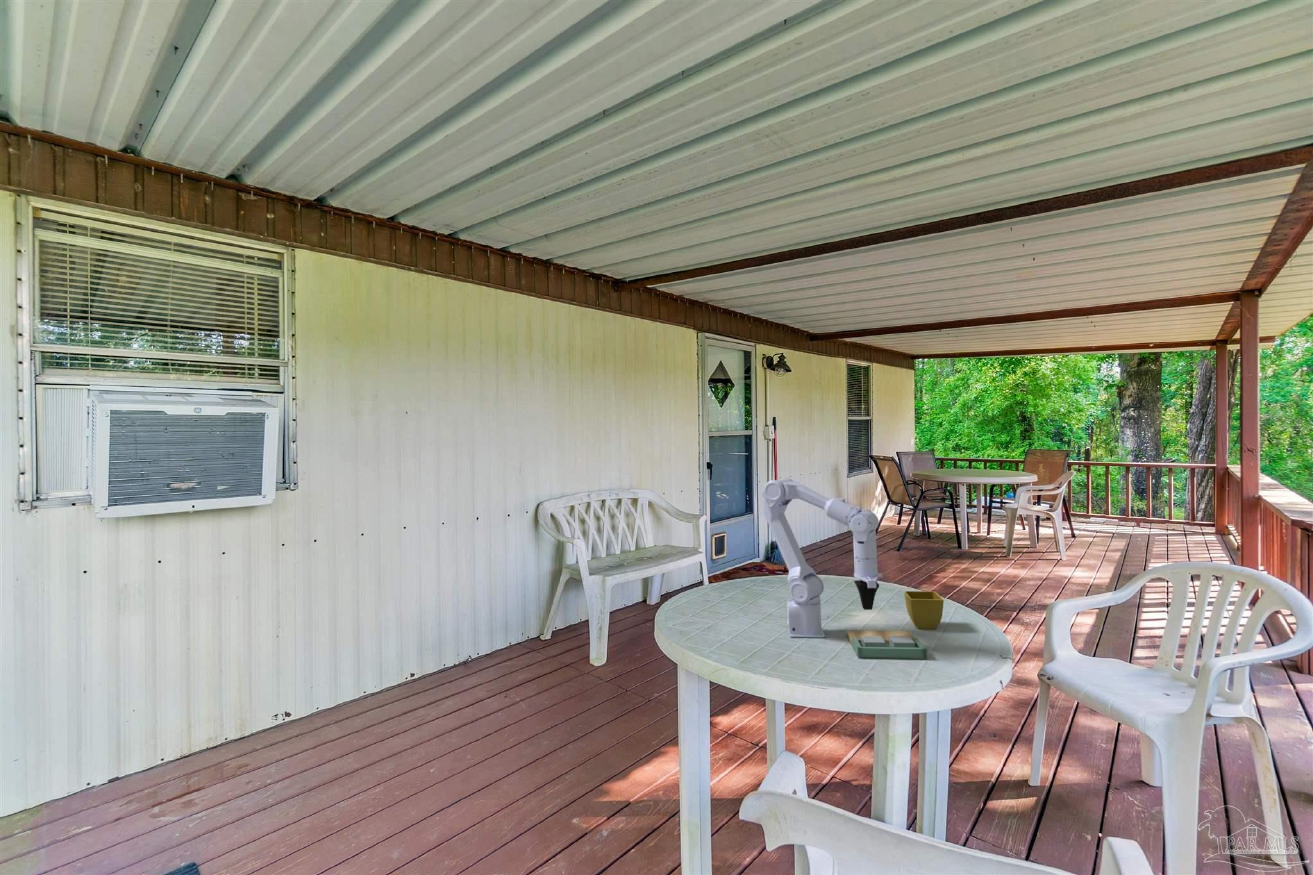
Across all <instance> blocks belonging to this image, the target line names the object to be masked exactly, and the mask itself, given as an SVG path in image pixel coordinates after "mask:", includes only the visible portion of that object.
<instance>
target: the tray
mask: <svg viewBox="0 0 1313 875" xmlns="http://www.w3.org/2000/svg"><path fill="white" fill-rule="evenodd" d="M912 640H913V641H914V642H915V648H911V647H890V646H889V645H885V646H886V647H862V646H861V645H860V643H859V642H858V640H857V638H856V637H852V645H851V647H852V649H853V650H854V653H855V654H856V656H857V659H868V660H869V659H870V660H871V659H872V660H873V659H874V660H875V659H878V660H881V659H882V660H883V659H885V660H928V654H927V653H928V652H927V648H926V647H925V646H924V644H923V643H922V642H921V641H920V640H919V639H918V638H917V636H914V637H913V636H912Z"/></svg>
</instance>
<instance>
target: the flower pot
mask: <svg viewBox="0 0 1313 875" xmlns="http://www.w3.org/2000/svg"><path fill="white" fill-rule="evenodd" d="M903 593H904V594H903V595H904V600H905V607H906V610H907V613H908V616H909V619H910V620H911V622H912V623H913V625H914V626H915V627H916V629H927V630H928V629H929V630H931V629H932V630H936V629H937V628H938V627H939V625H940V624H941V621H942V618H943V610H944V600H945V599H944V598H943V597H942V596H941V595H939V593H938V592H937V591H931V590H930V591H929V590H927V591H926V590H923V591H922V590H921V591H920V590H904V591H903Z"/></svg>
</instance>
